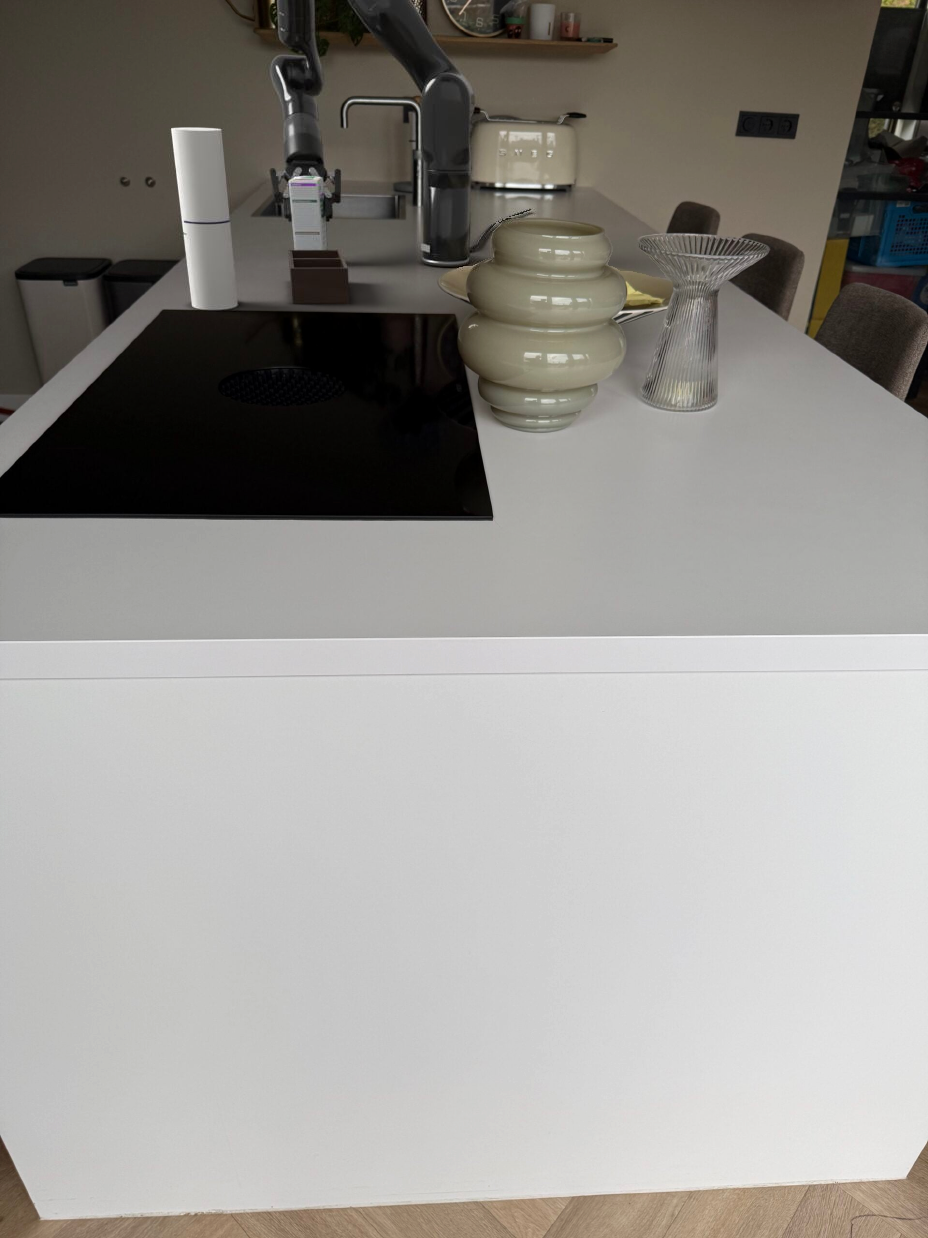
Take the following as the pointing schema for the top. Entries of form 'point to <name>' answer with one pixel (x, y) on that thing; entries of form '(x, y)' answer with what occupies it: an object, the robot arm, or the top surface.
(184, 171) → the cylindrical container
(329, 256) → the compartment organizer box
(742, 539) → the top surface
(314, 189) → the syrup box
